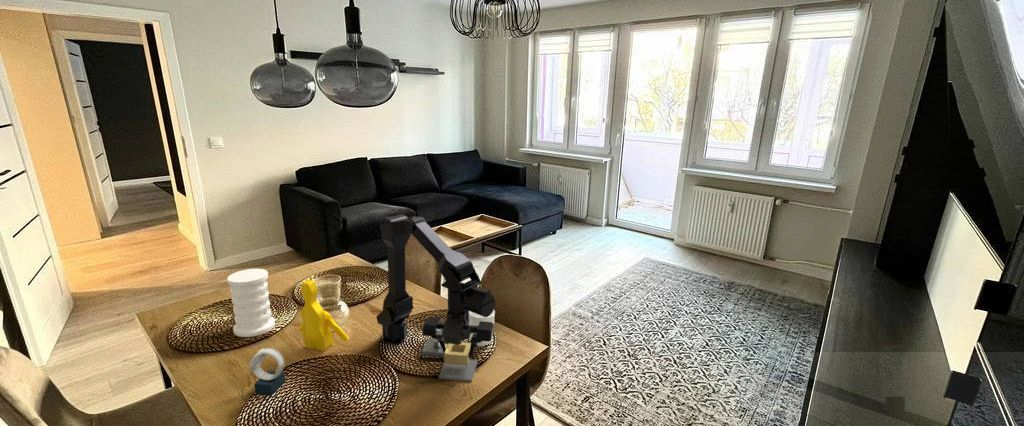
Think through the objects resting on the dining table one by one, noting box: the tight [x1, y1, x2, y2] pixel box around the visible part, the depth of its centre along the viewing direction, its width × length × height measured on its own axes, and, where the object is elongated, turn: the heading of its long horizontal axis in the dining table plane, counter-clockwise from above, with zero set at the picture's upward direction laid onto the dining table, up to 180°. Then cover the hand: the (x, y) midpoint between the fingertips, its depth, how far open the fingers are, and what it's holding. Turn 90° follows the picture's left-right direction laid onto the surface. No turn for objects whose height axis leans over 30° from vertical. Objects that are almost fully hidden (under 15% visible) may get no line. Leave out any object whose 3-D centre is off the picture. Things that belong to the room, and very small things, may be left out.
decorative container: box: [226, 268, 276, 338], centre depth 137 cm, size 12×12×18 cm
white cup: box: [469, 309, 496, 347], centre depth 135 cm, size 8×8×10 cm
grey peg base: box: [421, 337, 444, 358], centre depth 129 cm, size 7×7×6 cm
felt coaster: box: [438, 359, 479, 383], centre depth 121 cm, size 9×9×1 cm
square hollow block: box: [443, 341, 471, 366], centre depth 119 cm, size 6×6×3 cm
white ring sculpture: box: [248, 347, 286, 397], centre depth 110 cm, size 6×8×11 cm
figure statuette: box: [298, 278, 350, 352], centre depth 127 cm, size 18×8×22 cm, turn 73°
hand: (458, 356), depth 120 cm, fingers closed on square hollow block, 6 cm apart
